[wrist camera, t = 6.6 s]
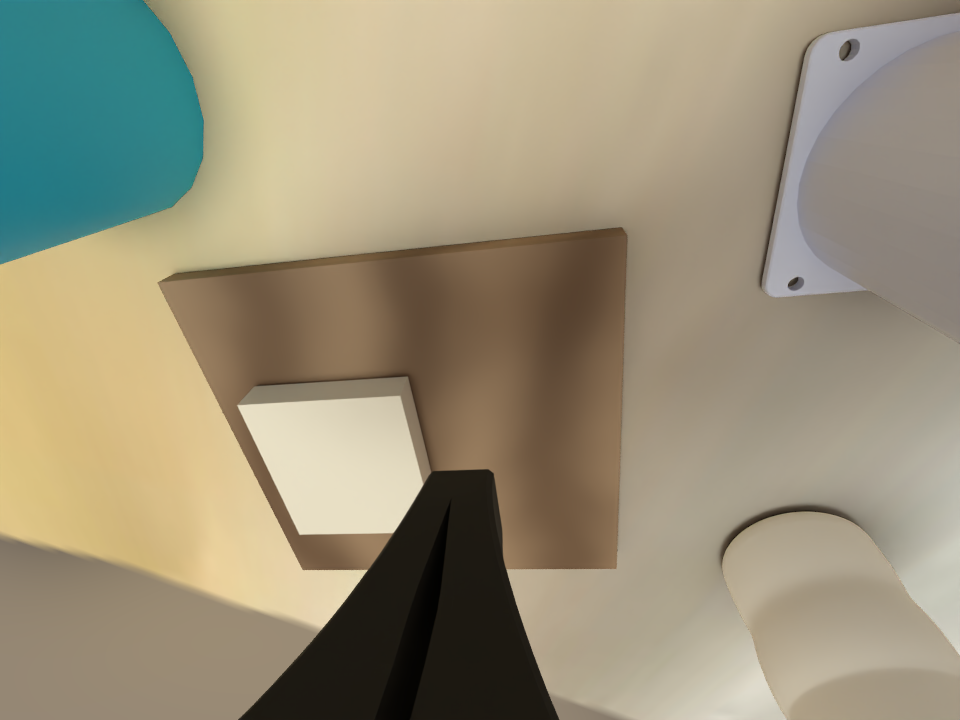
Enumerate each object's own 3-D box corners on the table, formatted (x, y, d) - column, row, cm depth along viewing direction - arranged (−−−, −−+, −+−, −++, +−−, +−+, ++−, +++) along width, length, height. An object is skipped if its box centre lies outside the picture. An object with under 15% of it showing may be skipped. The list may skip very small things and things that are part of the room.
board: (621, 227, 16) (627, 234, 16) (613, 552, 25) (616, 568, 25) (173, 273, 19) (157, 282, 18) (309, 555, 28) (302, 569, 27)
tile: (400, 395, 18) (237, 405, 19) (435, 532, 22) (299, 534, 23) (408, 374, 19) (256, 384, 20) (441, 507, 23) (311, 510, 24)
